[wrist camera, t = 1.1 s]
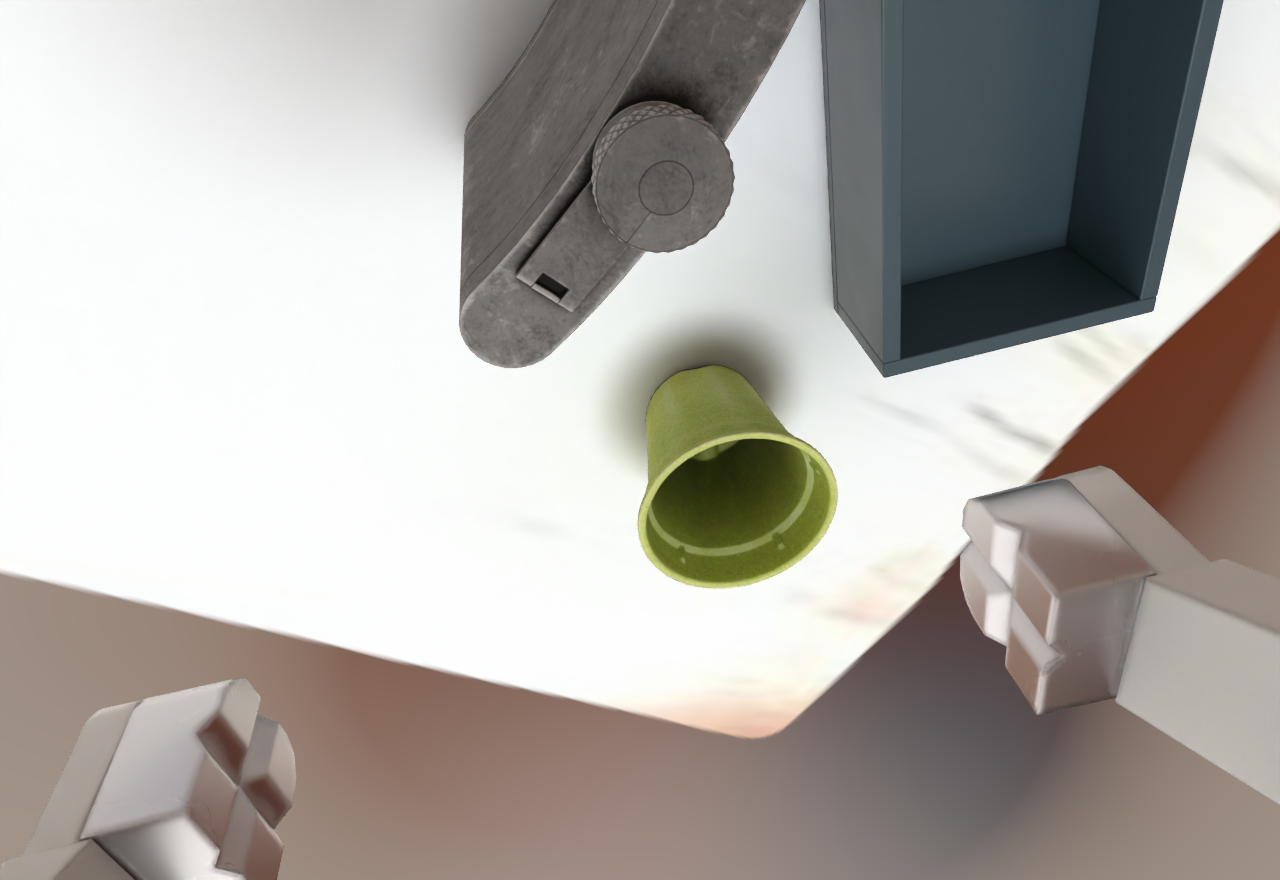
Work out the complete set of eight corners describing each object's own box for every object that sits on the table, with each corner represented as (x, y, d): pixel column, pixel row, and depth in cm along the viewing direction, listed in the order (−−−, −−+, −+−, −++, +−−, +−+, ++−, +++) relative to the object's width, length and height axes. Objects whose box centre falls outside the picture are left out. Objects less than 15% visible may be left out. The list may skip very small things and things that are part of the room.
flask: (725, -128, 31) (940, -73, 17) (528, 197, 37) (561, 441, 23) (644, -199, 29) (806, -206, 15) (452, 153, 35) (437, 386, 21)
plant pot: (580, 440, 45) (599, 552, 38) (681, 304, 41) (721, 402, 34) (714, 499, 49) (753, 610, 42) (818, 381, 45) (879, 482, 38)
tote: (808, -219, 29) (880, -225, 24) (1153, -302, 30) (1297, -325, 24) (834, 309, 43) (883, 379, 38) (1071, 251, 43) (1154, 312, 38)
